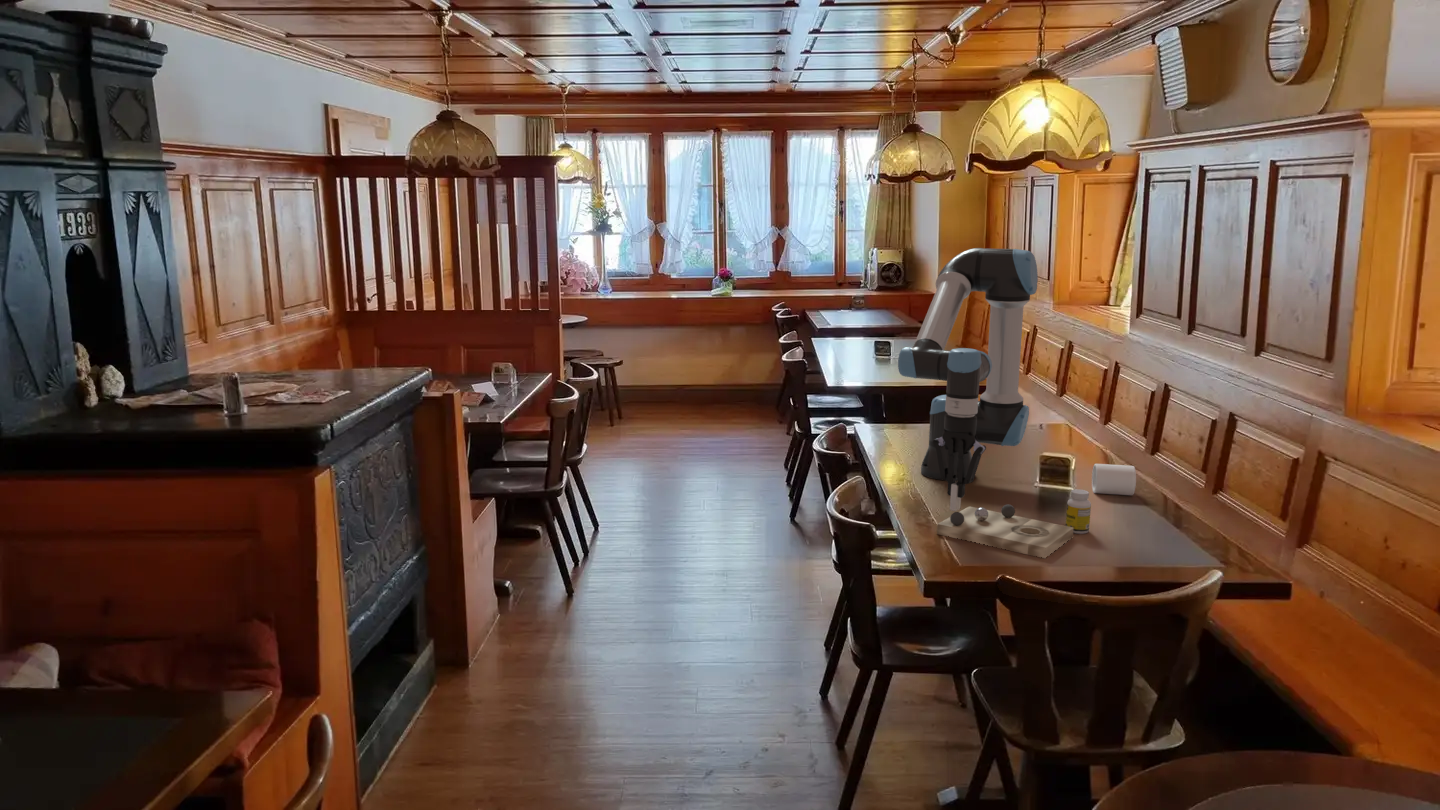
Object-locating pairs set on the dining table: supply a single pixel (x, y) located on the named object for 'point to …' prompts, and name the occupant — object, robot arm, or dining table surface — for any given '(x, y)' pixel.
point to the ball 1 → (957, 518)
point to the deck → (1008, 532)
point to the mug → (1113, 479)
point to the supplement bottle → (1078, 511)
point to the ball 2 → (1008, 511)
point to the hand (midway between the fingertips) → (955, 509)
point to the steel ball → (981, 514)
